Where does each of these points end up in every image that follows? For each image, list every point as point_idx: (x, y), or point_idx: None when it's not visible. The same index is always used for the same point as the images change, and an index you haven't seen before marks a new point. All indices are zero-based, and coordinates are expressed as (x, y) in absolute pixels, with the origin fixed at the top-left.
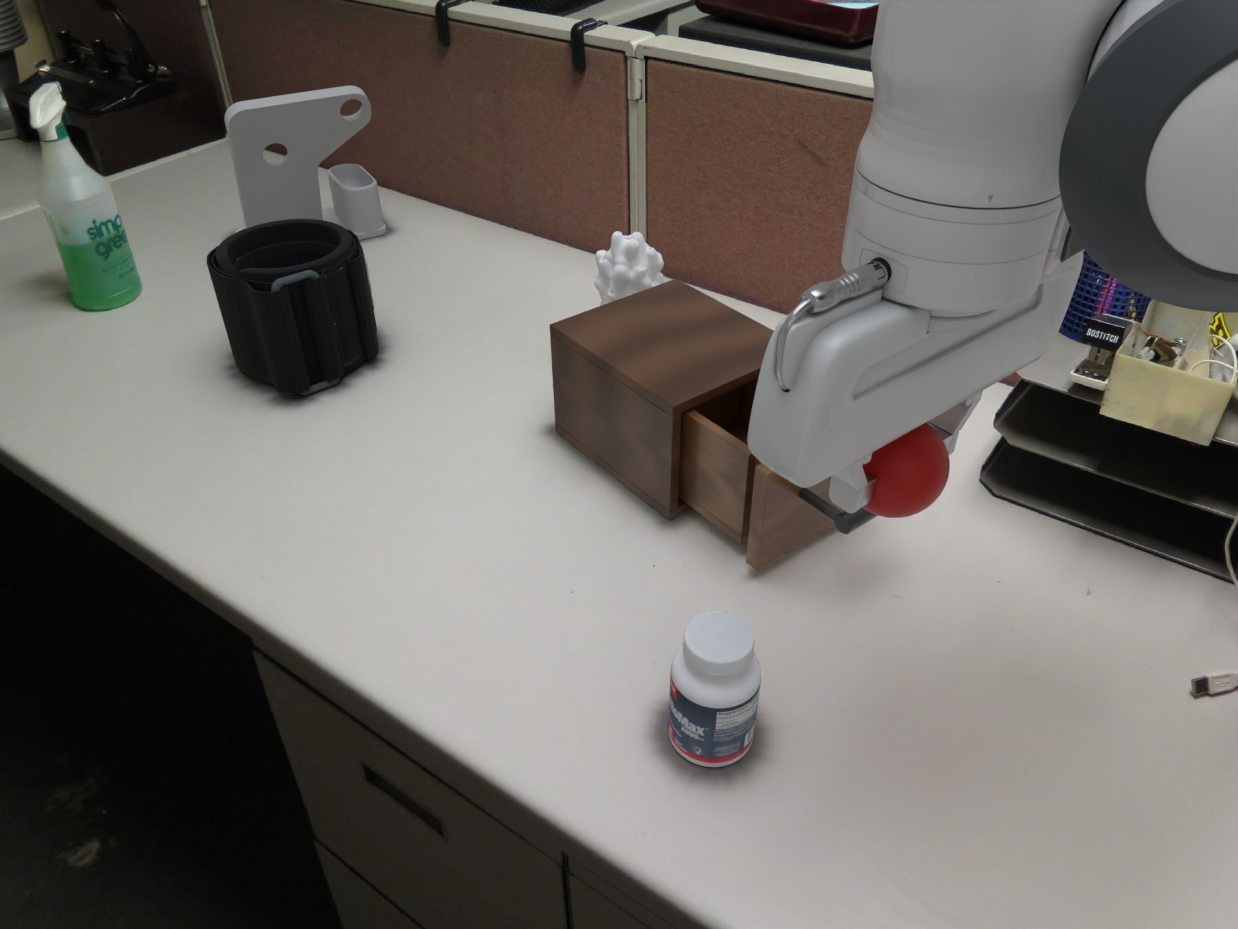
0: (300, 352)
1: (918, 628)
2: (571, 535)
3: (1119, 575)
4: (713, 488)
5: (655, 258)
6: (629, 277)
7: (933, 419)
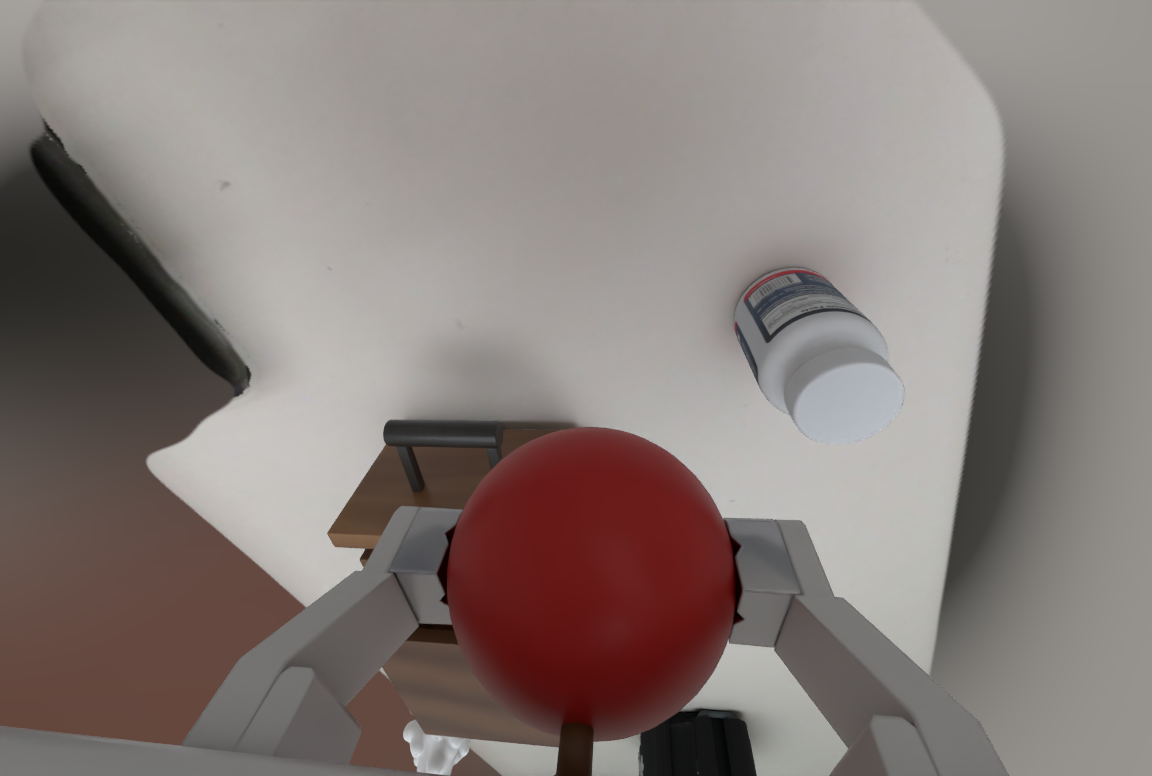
0: (733, 759)
1: (471, 277)
2: None
3: (162, 179)
4: None
5: (416, 741)
6: None
7: (403, 623)
